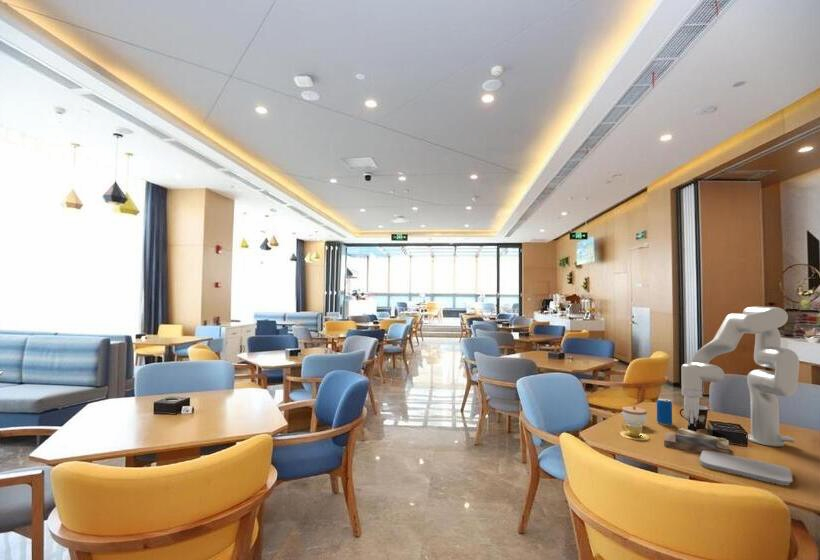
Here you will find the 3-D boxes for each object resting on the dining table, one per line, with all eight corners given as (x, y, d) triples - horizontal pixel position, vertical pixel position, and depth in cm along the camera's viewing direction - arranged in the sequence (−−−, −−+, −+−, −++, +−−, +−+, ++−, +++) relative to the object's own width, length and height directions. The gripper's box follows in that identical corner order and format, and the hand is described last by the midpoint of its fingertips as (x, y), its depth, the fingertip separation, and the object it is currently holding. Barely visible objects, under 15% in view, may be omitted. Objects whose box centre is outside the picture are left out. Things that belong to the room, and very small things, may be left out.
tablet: (702, 454, 165) (702, 449, 165) (790, 473, 148) (789, 467, 148) (698, 467, 152) (698, 461, 152) (793, 489, 135) (793, 482, 135)
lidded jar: (621, 426, 198) (621, 406, 198) (622, 420, 207) (622, 402, 208) (646, 430, 193) (646, 410, 193) (647, 424, 202) (646, 405, 202)
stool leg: (728, 448, 163) (728, 439, 164) (725, 449, 162) (725, 440, 162) (681, 434, 178) (681, 426, 179) (678, 435, 177) (678, 427, 177)
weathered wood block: (727, 448, 170) (727, 435, 171) (729, 458, 160) (729, 444, 160) (666, 437, 183) (666, 424, 183) (664, 445, 172) (664, 433, 173)
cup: (652, 436, 185) (652, 424, 185) (645, 443, 176) (645, 430, 176) (623, 430, 193) (623, 418, 193) (616, 436, 184) (616, 424, 184)
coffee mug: (707, 426, 199) (707, 406, 199) (709, 431, 191) (708, 410, 192) (679, 422, 205) (679, 402, 205) (679, 427, 198) (679, 406, 198)
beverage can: (674, 426, 199) (674, 401, 199) (660, 425, 200) (659, 400, 201) (668, 422, 205) (668, 398, 206) (654, 421, 206) (654, 397, 207)
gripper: (682, 388, 186) (683, 428, 185) (680, 394, 174) (681, 437, 173) (702, 390, 181) (703, 431, 180) (702, 397, 169) (702, 441, 168)
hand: (692, 434), depth 177 cm, fingers closed
